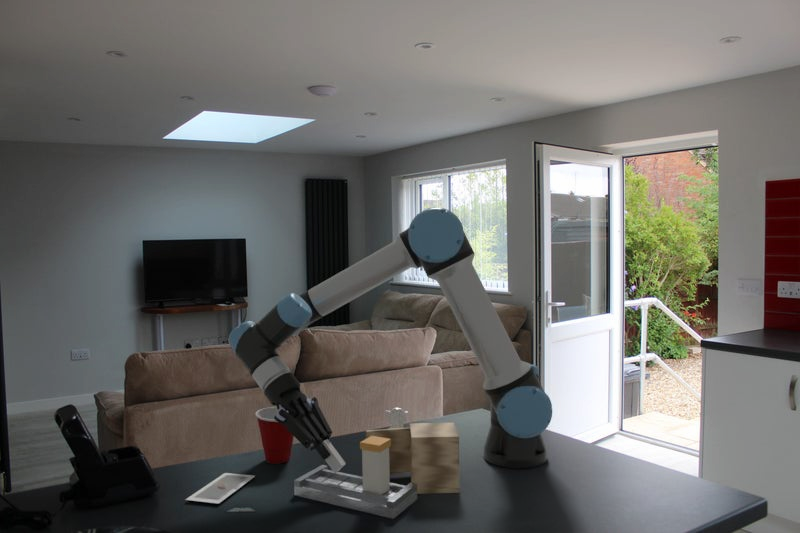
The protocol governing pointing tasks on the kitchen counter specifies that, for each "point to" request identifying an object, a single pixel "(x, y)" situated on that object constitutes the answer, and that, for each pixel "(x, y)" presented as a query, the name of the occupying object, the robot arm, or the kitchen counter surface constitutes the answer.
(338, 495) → the fader track
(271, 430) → the plastic cup
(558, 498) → the kitchen counter surface
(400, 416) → the sitting furry creature
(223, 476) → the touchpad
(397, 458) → the wooden cabinet
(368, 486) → the fader knob
